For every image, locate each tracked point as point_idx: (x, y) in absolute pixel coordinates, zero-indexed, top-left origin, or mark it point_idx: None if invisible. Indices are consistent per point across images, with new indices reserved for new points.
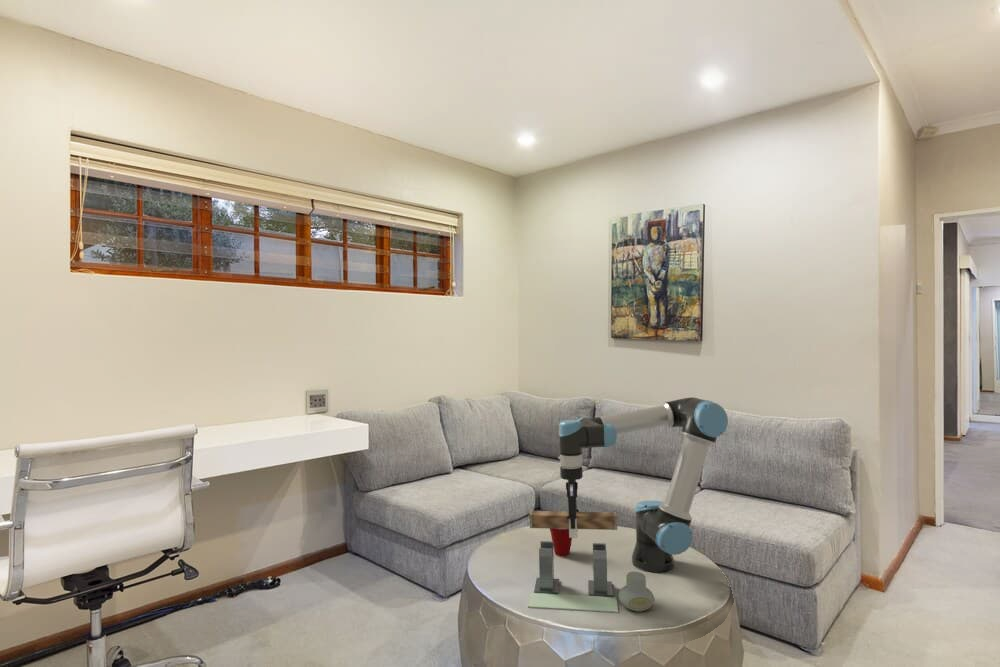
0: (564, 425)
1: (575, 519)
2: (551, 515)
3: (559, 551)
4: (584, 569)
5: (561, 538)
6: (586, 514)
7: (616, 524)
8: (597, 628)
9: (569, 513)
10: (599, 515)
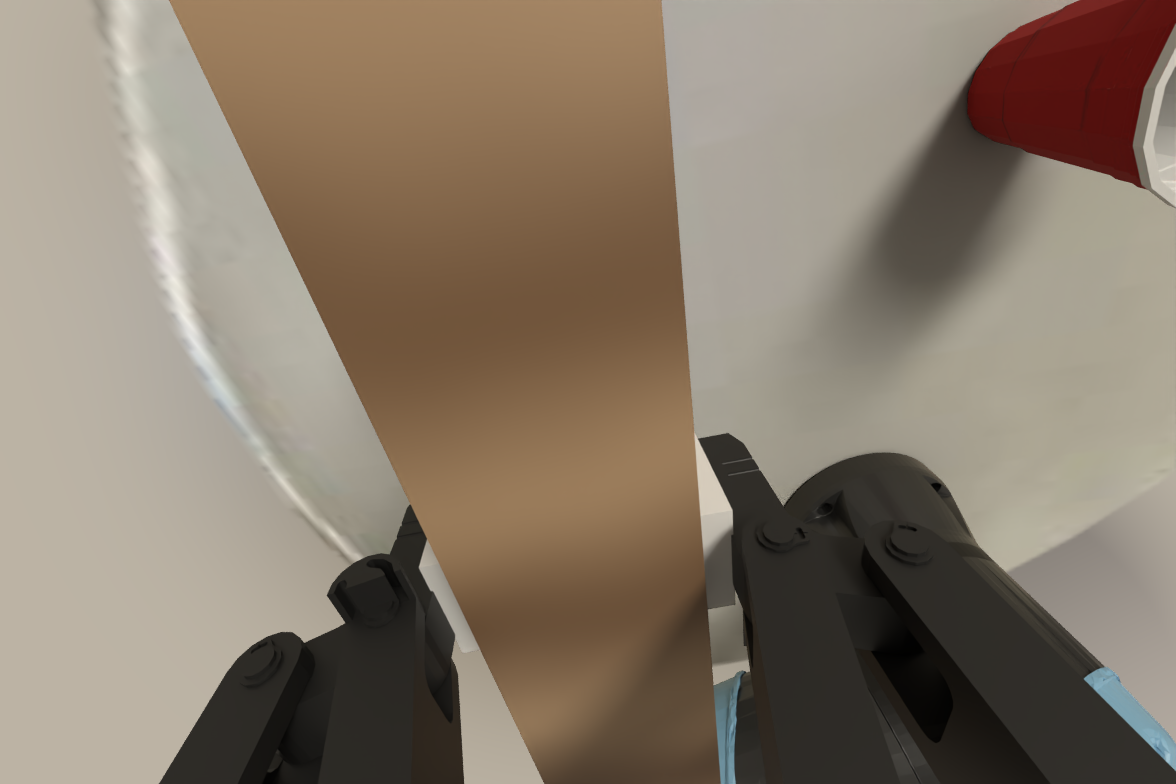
0: None
1: (461, 627)
2: (300, 255)
3: (996, 73)
4: (786, 270)
5: (1068, 90)
6: (602, 742)
7: None
8: (255, 423)
9: (179, 780)
10: None
